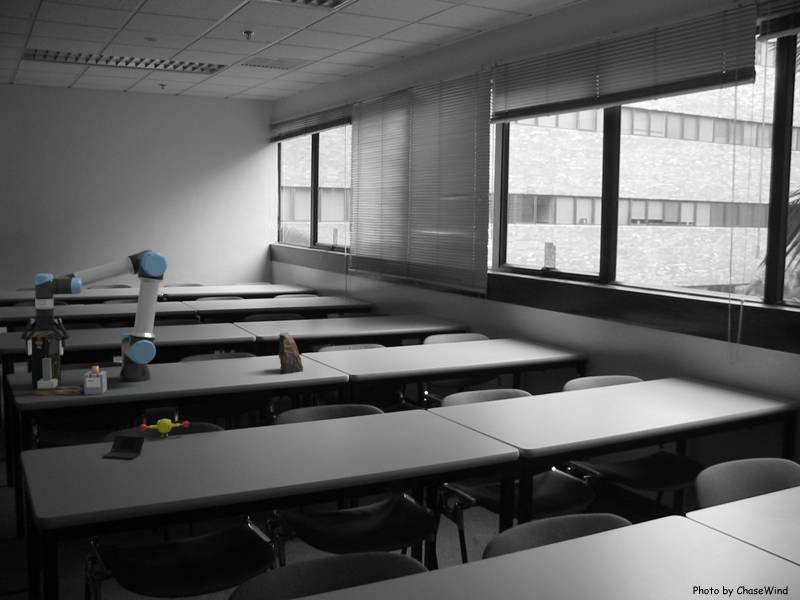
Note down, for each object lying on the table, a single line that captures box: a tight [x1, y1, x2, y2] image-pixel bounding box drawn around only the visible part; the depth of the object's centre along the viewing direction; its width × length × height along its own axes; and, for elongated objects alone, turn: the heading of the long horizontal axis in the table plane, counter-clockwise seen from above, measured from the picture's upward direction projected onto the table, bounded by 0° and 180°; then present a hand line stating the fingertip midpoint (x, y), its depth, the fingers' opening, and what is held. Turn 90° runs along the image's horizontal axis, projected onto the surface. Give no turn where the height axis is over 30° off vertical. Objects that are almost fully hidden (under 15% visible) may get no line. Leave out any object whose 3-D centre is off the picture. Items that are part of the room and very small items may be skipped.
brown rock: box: [278, 331, 304, 375], centre depth 412 cm, size 13×13×20 cm
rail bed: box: [33, 385, 83, 396], centre depth 357 cm, size 19×7×3 cm, turn 98°
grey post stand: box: [37, 358, 58, 388], centre depth 356 cm, size 7×6×13 cm
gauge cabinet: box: [83, 370, 108, 395], centre depth 359 cm, size 8×8×9 cm
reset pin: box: [91, 365, 100, 378], centre depth 359 cm, size 3×3×5 cm
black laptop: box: [102, 435, 145, 461], centre depth 268 cm, size 12×7×10 cm
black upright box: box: [30, 331, 62, 389], centre depth 370 cm, size 16×9×25 cm, turn 177°
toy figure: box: [138, 418, 190, 438], centre depth 290 cm, size 18×6×7 cm, turn 109°
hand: (45, 354), depth 355 cm, fingers open, 13 cm apart
